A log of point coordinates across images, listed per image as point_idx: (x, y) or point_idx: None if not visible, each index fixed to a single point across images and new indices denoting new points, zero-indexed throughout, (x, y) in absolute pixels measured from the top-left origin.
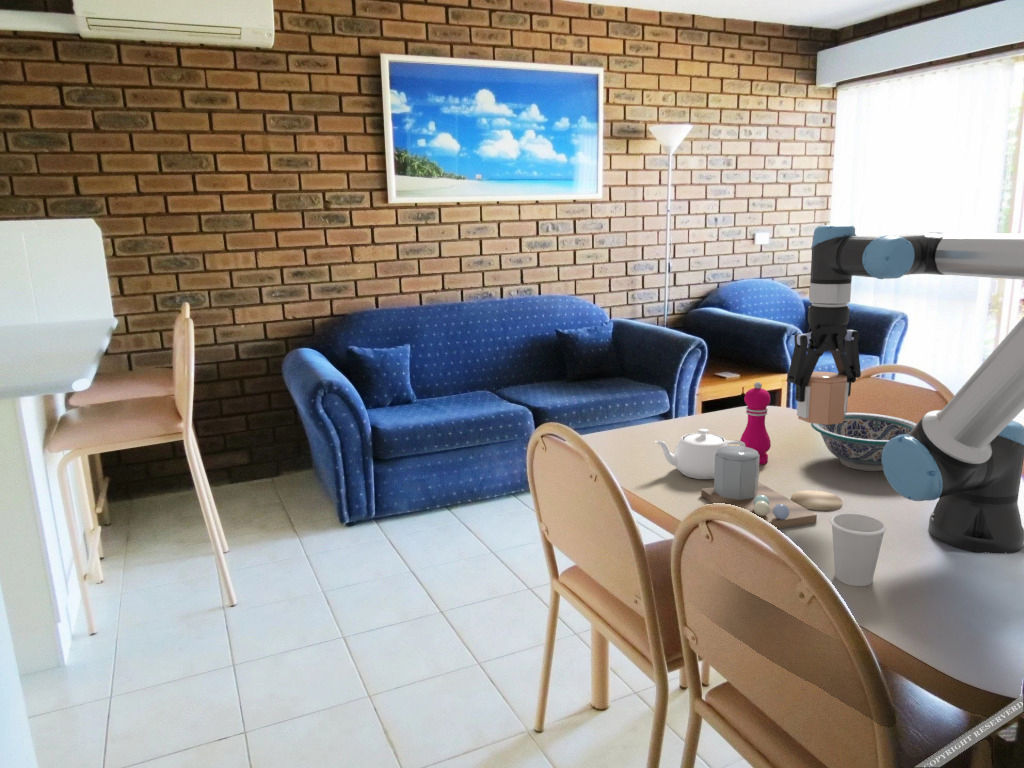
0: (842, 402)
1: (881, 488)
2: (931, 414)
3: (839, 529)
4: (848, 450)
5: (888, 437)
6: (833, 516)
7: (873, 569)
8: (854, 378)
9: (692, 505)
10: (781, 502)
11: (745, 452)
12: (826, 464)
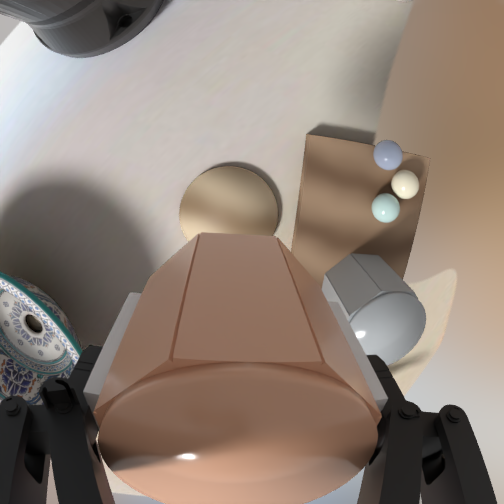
0: (201, 276)
1: (69, 220)
2: None
3: None
4: (66, 325)
5: None
6: None
7: None
8: (44, 397)
9: (420, 283)
10: (324, 213)
11: (377, 326)
12: (92, 343)
